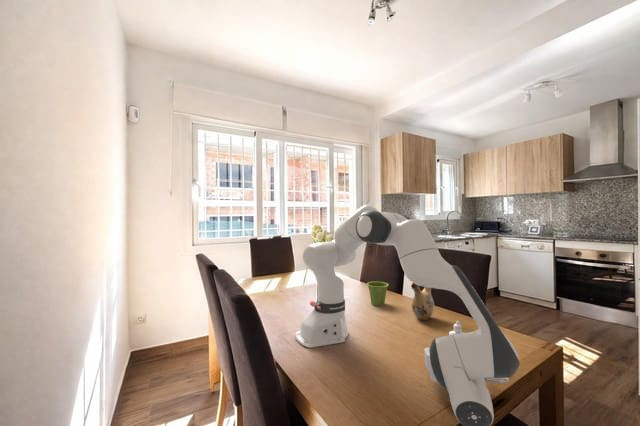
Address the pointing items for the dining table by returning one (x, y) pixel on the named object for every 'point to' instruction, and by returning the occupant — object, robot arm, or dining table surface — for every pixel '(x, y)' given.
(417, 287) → the ceramic vessel
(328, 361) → the dining table surface
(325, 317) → the robot arm
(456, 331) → the eye dropper bottle
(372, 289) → the plant pot
